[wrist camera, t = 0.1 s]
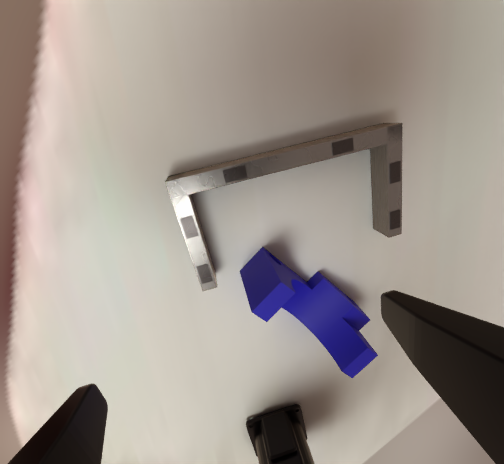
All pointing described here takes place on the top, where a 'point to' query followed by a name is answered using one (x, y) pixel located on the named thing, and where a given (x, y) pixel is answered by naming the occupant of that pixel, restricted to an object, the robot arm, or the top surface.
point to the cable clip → (309, 308)
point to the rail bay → (374, 137)
